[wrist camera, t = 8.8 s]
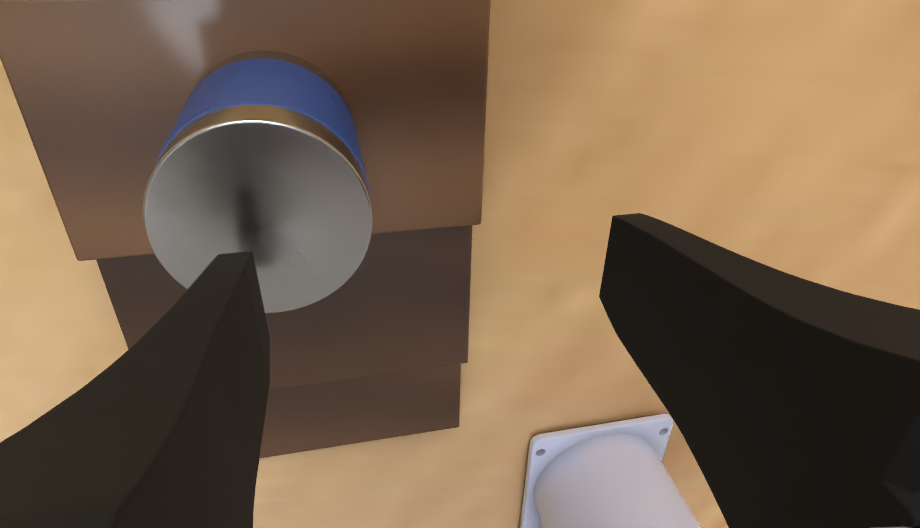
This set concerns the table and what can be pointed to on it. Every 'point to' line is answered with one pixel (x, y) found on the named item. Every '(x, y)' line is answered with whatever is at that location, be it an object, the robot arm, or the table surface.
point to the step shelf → (385, 160)
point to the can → (263, 180)
